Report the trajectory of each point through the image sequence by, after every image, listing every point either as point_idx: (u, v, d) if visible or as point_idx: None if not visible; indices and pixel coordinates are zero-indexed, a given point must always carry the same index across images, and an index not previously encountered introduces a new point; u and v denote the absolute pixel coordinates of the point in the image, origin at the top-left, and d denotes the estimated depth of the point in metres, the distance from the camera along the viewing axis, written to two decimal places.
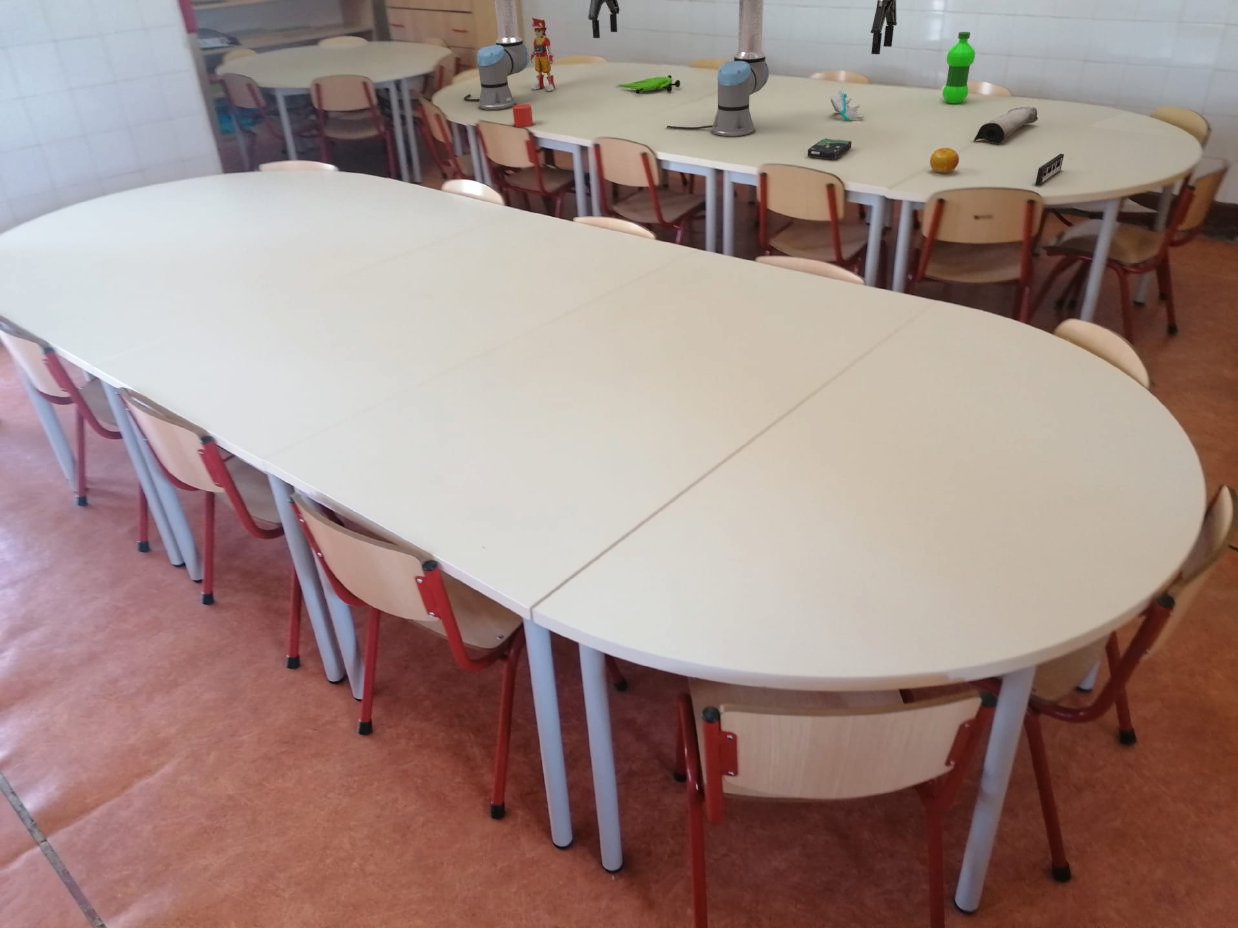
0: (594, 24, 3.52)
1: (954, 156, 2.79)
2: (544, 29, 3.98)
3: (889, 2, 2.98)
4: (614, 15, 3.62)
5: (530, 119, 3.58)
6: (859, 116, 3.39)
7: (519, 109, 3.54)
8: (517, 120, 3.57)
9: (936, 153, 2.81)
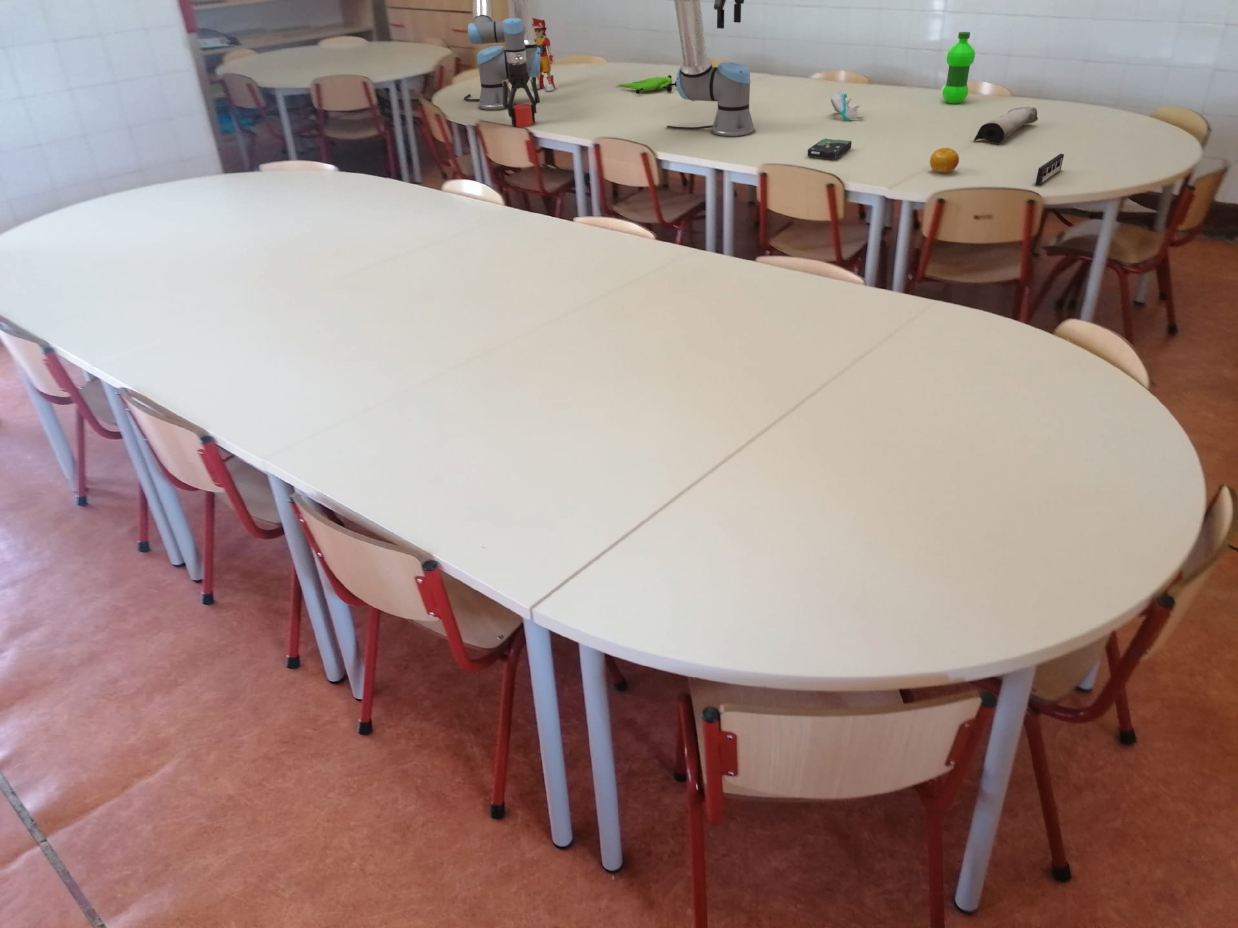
0: (509, 112, 3.56)
1: (954, 156, 2.79)
2: (544, 29, 3.98)
3: None
4: (531, 106, 3.58)
5: (530, 119, 3.58)
6: (859, 116, 3.39)
7: (519, 109, 3.54)
8: (517, 120, 3.57)
9: (936, 153, 2.81)
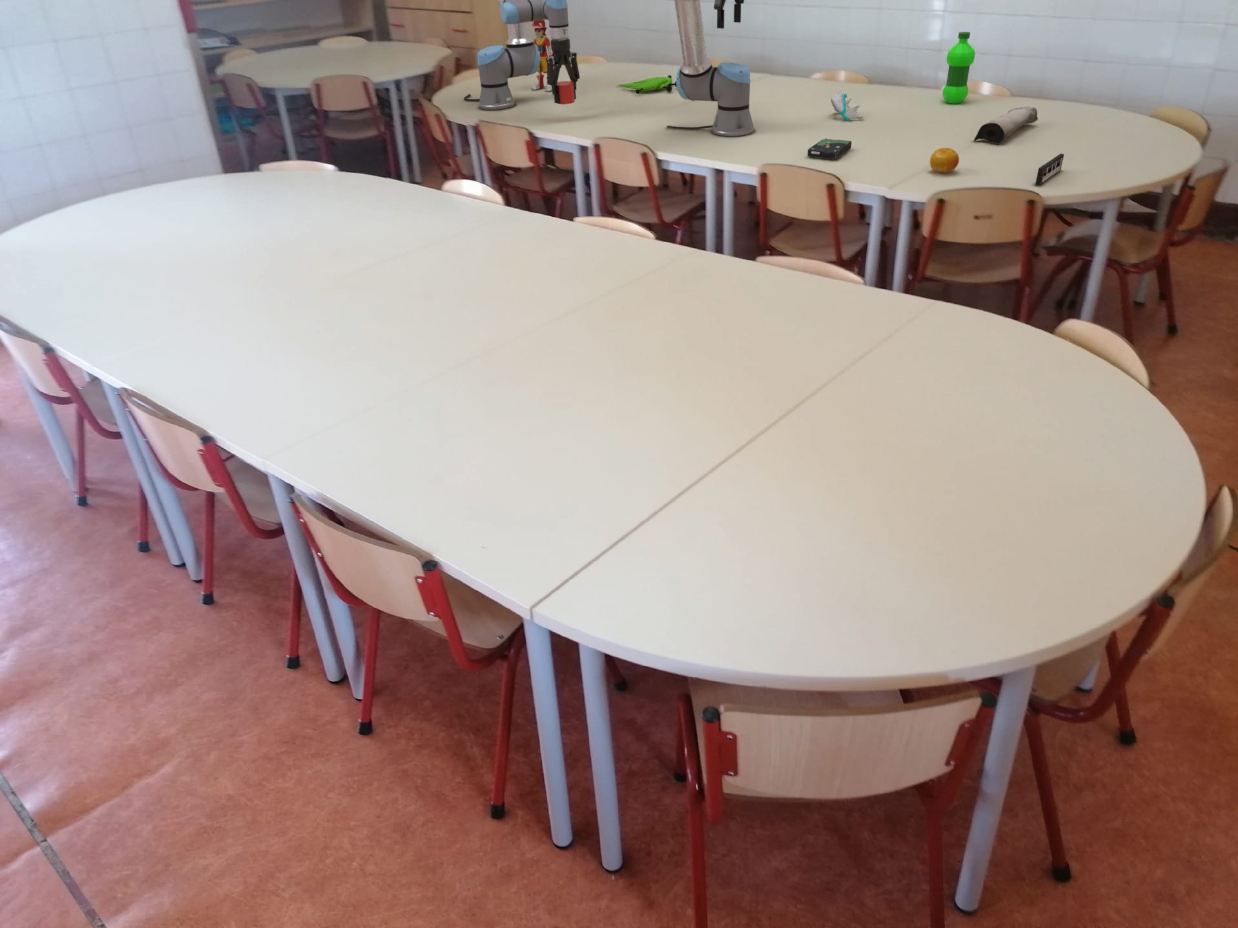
0: (553, 90, 3.53)
1: (954, 156, 2.79)
2: (544, 29, 3.98)
3: None
4: None
5: (573, 95, 3.57)
6: (859, 116, 3.39)
7: (564, 86, 3.52)
8: (562, 97, 3.54)
9: (936, 153, 2.81)
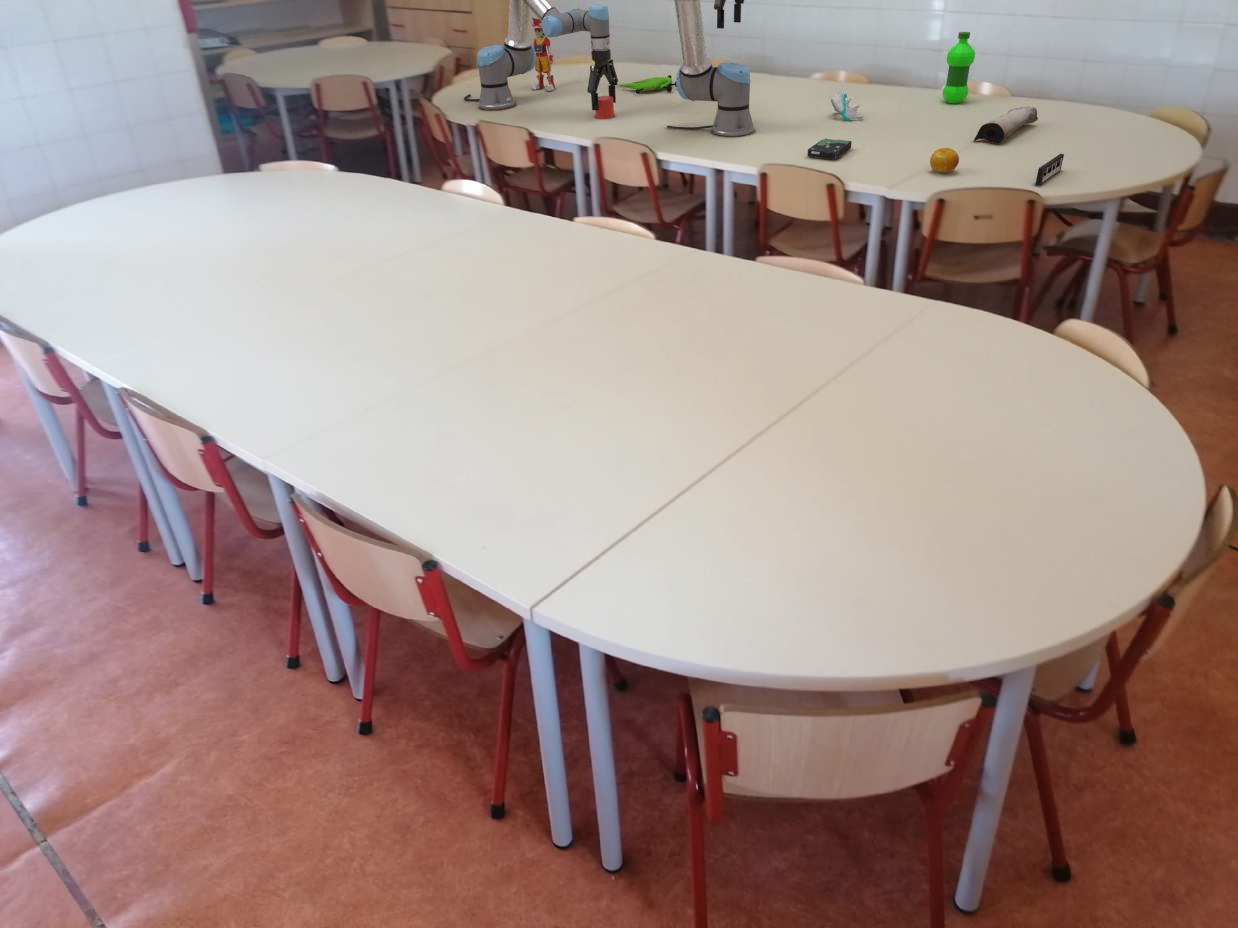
0: (593, 97, 3.54)
1: (954, 156, 2.79)
2: None
3: None
4: (613, 86, 3.64)
5: (613, 109, 3.64)
6: (859, 116, 3.39)
7: (607, 100, 3.59)
8: (605, 112, 3.61)
9: (936, 153, 2.81)
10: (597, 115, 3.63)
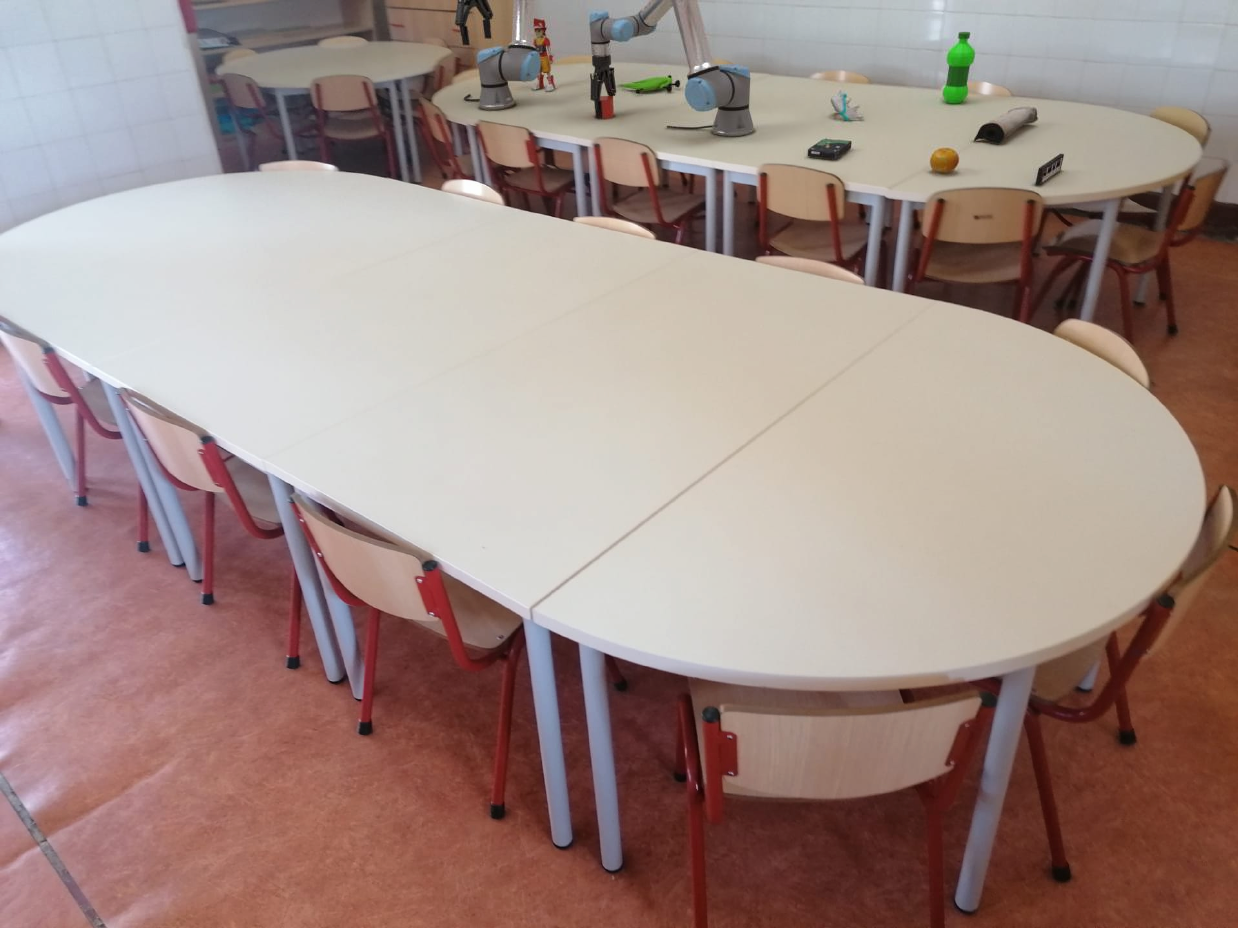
0: (462, 30, 3.33)
1: (954, 156, 2.79)
2: (544, 29, 3.98)
3: None
4: (487, 21, 3.42)
5: (613, 109, 3.64)
6: (859, 116, 3.39)
7: (607, 100, 3.59)
8: (605, 112, 3.61)
9: (936, 153, 2.81)
10: None
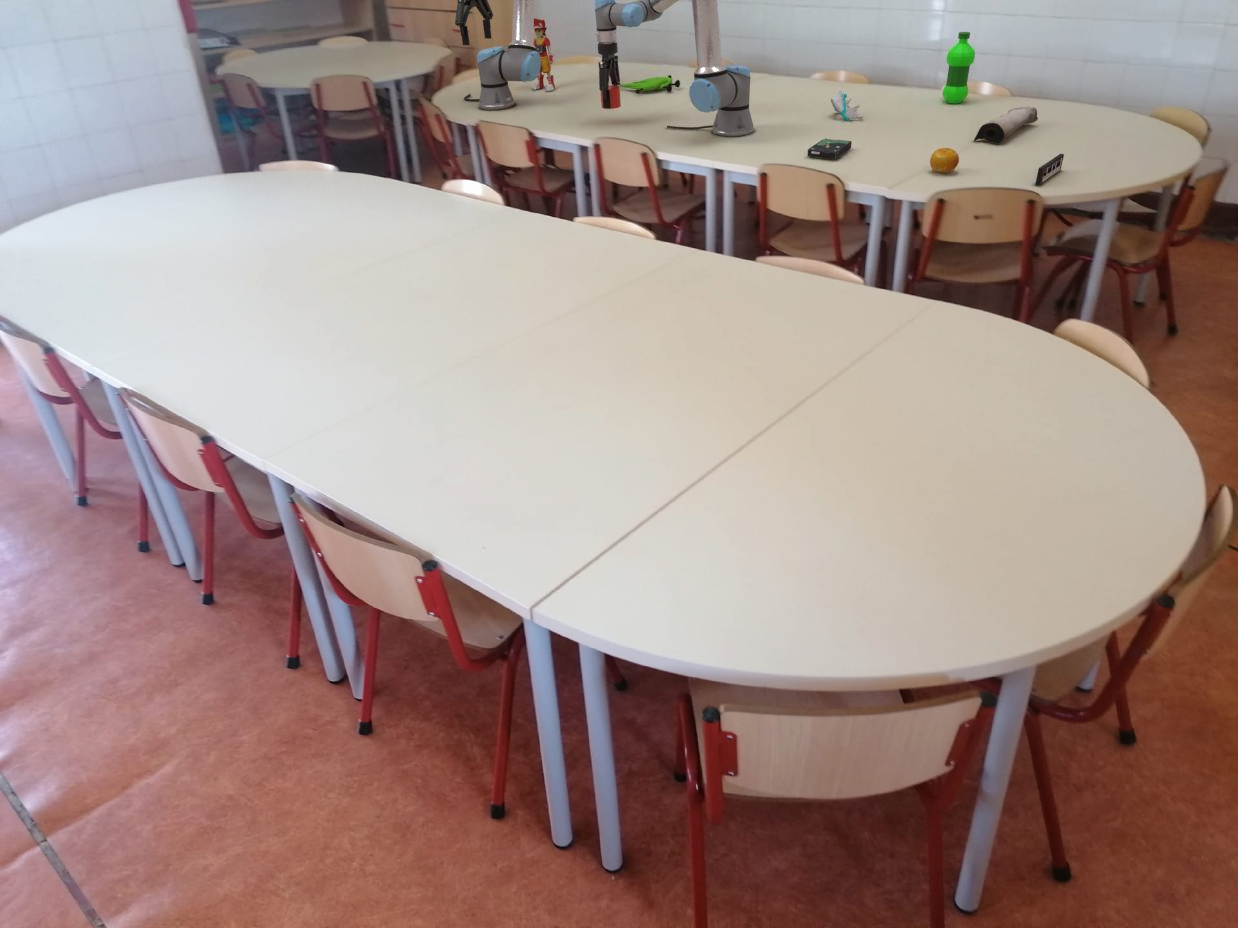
0: (462, 30, 3.33)
1: (954, 156, 2.79)
2: (544, 29, 3.98)
3: None
4: (487, 21, 3.42)
5: None
6: (859, 116, 3.39)
7: (615, 89, 3.46)
8: (613, 101, 3.47)
9: (936, 153, 2.81)
10: None
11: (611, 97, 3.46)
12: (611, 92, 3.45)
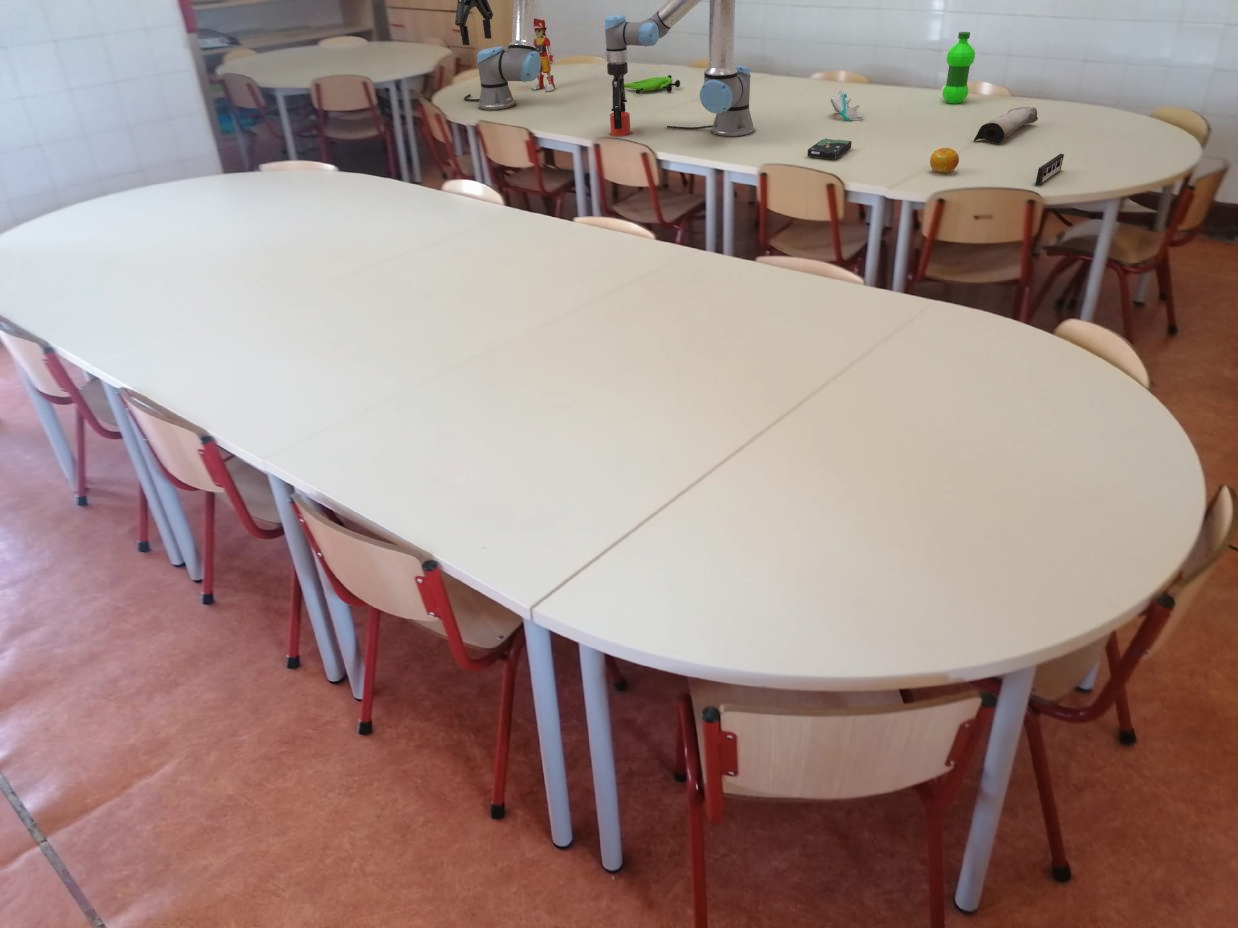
0: (462, 30, 3.33)
1: (954, 156, 2.79)
2: (544, 29, 3.98)
3: None
4: (487, 21, 3.42)
5: None
6: (859, 116, 3.39)
7: (627, 116, 3.37)
8: (625, 128, 3.39)
9: (936, 153, 2.81)
10: (616, 133, 3.39)
11: (623, 124, 3.37)
12: (623, 119, 3.36)
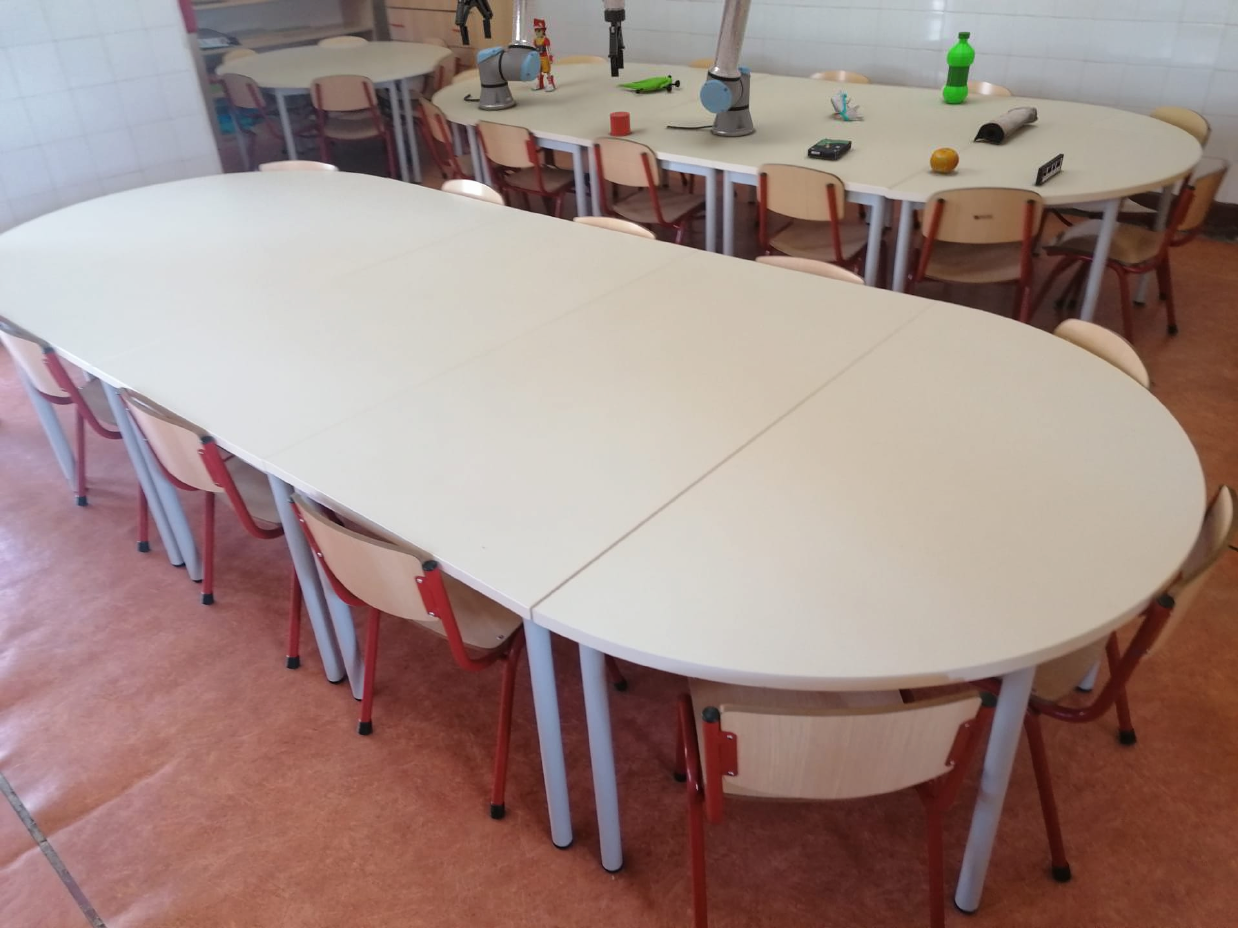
0: (462, 30, 3.33)
1: (954, 156, 2.79)
2: (544, 29, 3.98)
3: None
4: (487, 21, 3.42)
5: None
6: (859, 116, 3.39)
7: (627, 116, 3.37)
8: (625, 128, 3.39)
9: (936, 153, 2.81)
10: (616, 133, 3.39)
11: (623, 124, 3.37)
12: (623, 119, 3.36)
